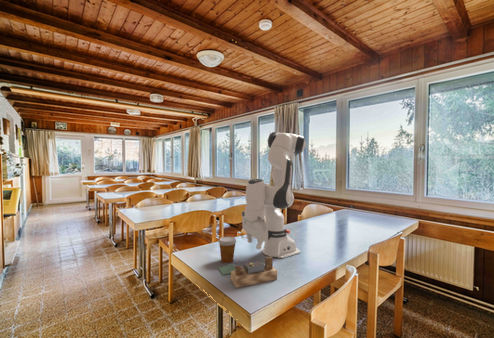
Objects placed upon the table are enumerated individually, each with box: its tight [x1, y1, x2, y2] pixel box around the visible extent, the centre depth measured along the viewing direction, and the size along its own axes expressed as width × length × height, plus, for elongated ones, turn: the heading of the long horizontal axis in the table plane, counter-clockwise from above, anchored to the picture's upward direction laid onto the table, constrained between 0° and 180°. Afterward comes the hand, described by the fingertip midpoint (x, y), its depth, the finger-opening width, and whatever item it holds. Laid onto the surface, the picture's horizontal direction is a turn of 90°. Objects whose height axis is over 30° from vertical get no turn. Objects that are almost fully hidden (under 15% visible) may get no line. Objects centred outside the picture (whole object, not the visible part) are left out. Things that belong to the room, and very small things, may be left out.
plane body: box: [229, 256, 278, 289], centre depth 105 cm, size 21×7×9 cm, turn 113°
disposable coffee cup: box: [218, 236, 237, 264], centre depth 125 cm, size 10×10×12 cm
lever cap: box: [243, 260, 265, 274], centre depth 105 cm, size 8×4×4 cm, turn 113°
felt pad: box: [217, 264, 236, 276], centre depth 114 cm, size 8×8×1 cm
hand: (254, 245), depth 104 cm, fingers open, 8 cm apart
